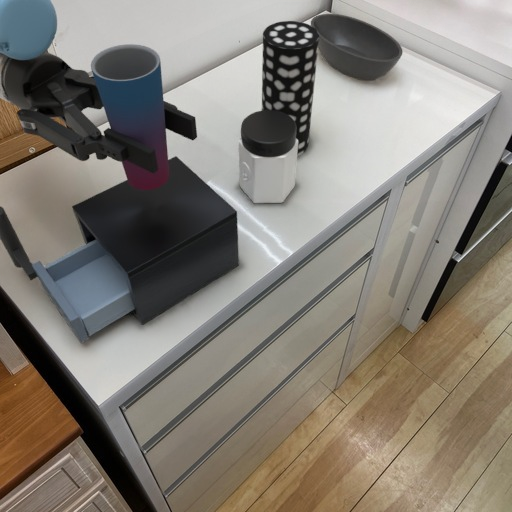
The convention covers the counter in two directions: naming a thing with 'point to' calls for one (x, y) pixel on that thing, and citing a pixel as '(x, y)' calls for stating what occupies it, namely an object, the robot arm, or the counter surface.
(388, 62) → the bowl
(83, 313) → the blue-grey drawer tray
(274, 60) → the spotted tube
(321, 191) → the counter surface
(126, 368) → the counter surface
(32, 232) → the counter surface
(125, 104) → the cup
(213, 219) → the drawer box
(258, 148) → the jar
